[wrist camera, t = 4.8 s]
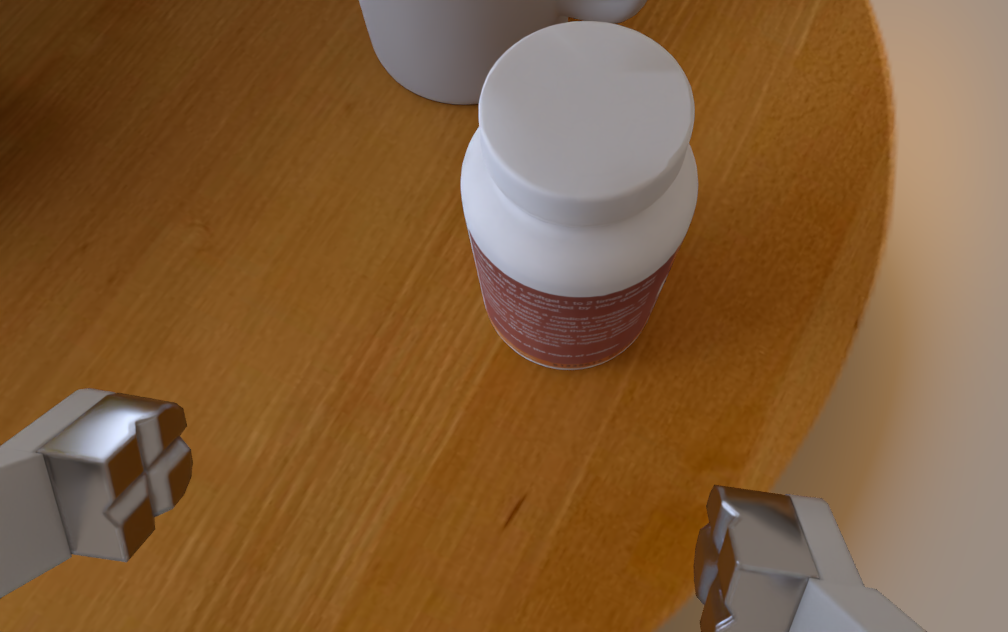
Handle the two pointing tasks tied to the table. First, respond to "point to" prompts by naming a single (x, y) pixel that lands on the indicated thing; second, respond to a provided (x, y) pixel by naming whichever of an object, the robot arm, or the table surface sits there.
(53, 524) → the robot arm
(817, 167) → the table surface
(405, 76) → the mug
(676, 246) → the pill bottle
